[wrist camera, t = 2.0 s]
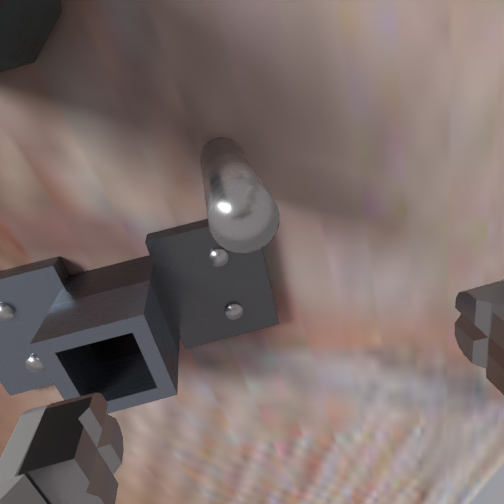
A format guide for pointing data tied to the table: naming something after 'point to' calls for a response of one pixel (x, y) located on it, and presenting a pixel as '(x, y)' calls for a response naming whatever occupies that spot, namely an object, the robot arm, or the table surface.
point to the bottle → (25, 29)
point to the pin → (236, 199)
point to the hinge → (128, 317)
